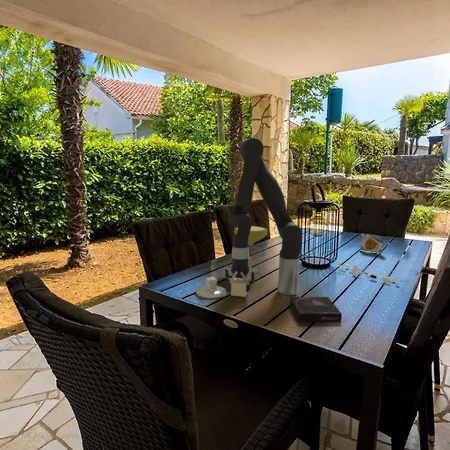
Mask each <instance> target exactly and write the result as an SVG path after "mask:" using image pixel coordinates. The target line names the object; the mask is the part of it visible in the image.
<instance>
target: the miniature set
mask: <svg viewBox="0 0 450 450" xmlns="http://www.w3.org/2000/svg"><path fill="white" fill-rule="evenodd" d="M335 266H336V267H340V268H342V269H345V270H347V269H348V267H349V268H350V269H352V270H351V271H352V275H353V274H354V275H355V276H356V273H359V275H360V274H362V273H363V271H362V270H361V268H359V267H358V265H357V264H354V266H351V267H350V263H346V264H345V265H343V264H338V265H336V264H335ZM357 270H358V271H357ZM359 271H360V272H359ZM365 272H366V273H367V272H368V271H365ZM375 273H376V272H374V273H370V272H368V274H367V276H369V278H372V279H375V280H378V279H377V278H379V277H380V278H382V279H381V280H380V282H382V281H385V282H389V283H392V282H391V281H390V280H393V281H396V280H397V278H394V277H391V276H387V277H386V276H381V275H378V274H375ZM381 274H382V275H385V274H386V271H381ZM385 282H384V283H385ZM394 284H396V285H399V286H400V282H398V280H397V281H396V282H395V283H394Z"/></svg>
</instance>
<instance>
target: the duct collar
mask: <svg viewBox="0 0 450 450" xmlns="http://www.w3.org/2000/svg"><path fill="white" fill-rule="evenodd" d="M246 285H247V284H246V282H245V281H244V279H239V278H235V279H234V280H233V281H232V282H231V289H230V296H232V297H233V296H234V297H242V298H246V296H247V294H248V293H249V291H248V292H246Z"/></svg>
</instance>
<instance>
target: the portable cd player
mask: <svg viewBox="0 0 450 450" xmlns="http://www.w3.org/2000/svg"><path fill="white" fill-rule="evenodd" d="M289 305H290V308H291V310H292V311H293V313H294V315H295V317H296V319H297V321H298V323H342V313H341V311H340V309H338V307H337V306H336V305H335V304H334V303H333V301H332V300H331V299H330V298H329V296H290V298H289Z"/></svg>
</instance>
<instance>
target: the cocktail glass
mask: <svg viewBox="0 0 450 450" xmlns="http://www.w3.org/2000/svg"><path fill="white" fill-rule="evenodd" d="M237 231H238V228H237V227H234V232H233V233H234V234H236V233H237ZM267 235H268V228H267V227H266V226H264V225H257V224H252V226H251V230H250V234H249V237H248V247H249V257H250V258H251V251H252V250H251V249H252V248H251V247H252V246H253V245H254V244H255V243H256V242H258V241H260V240H263V239H264V238H265V237H267ZM251 259H252V258H251ZM251 270H252V271H253V270H255V275H256V274H259V273H260V270H259V269H258V268H255V267H251Z"/></svg>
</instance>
